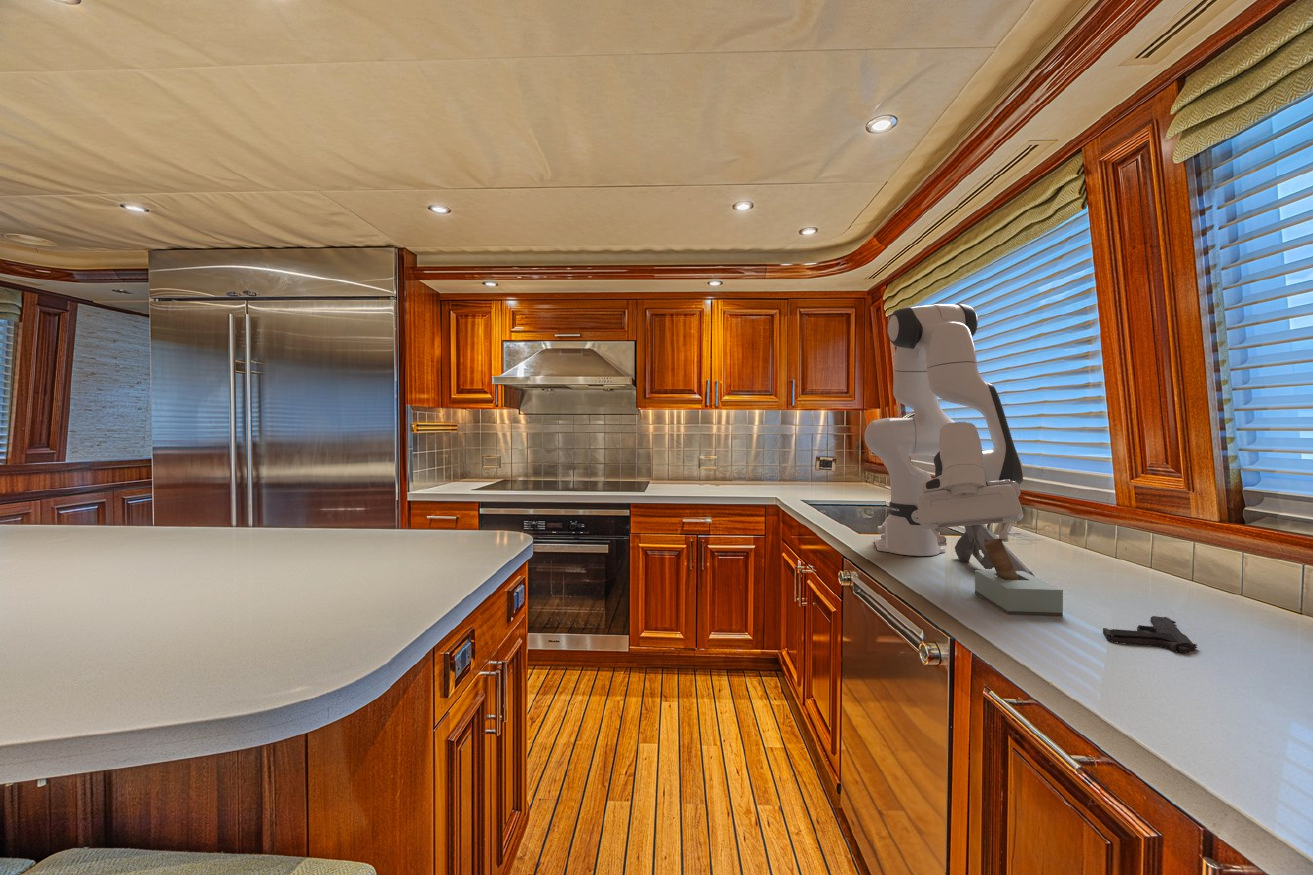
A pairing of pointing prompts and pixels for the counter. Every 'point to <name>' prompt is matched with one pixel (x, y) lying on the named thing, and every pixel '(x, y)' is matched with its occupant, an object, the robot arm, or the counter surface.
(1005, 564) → the walnut dowel
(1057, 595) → the socket block
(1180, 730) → the counter surface
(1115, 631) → the handgun
